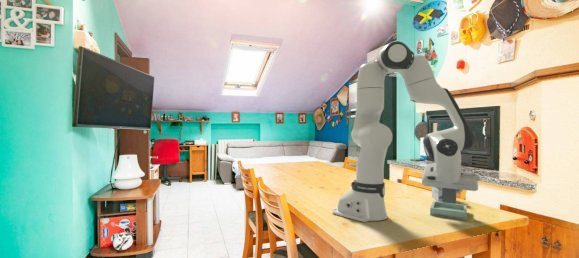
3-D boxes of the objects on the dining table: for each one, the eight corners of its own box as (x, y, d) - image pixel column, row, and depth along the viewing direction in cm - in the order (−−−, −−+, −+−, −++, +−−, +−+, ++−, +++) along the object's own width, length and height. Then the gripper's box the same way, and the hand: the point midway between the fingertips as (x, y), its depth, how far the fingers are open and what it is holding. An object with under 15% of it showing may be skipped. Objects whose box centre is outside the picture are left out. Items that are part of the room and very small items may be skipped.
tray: (430, 214, 116) (430, 207, 116) (432, 207, 127) (432, 200, 127) (466, 220, 109) (466, 213, 109) (466, 212, 120) (466, 205, 120)
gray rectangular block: (442, 202, 117) (442, 183, 117) (443, 199, 121) (442, 181, 121) (456, 203, 114) (456, 184, 114) (456, 201, 119) (456, 182, 119)
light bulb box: (452, 202, 134) (452, 180, 134) (437, 202, 136) (438, 180, 136) (444, 197, 145) (445, 176, 145) (431, 196, 146) (431, 176, 146)
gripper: (479, 167, 106) (478, 188, 114) (421, 164, 117) (424, 182, 125) (480, 181, 102) (478, 201, 111) (420, 176, 113) (422, 194, 121)
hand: (449, 191), depth 118 cm, fingers closed on gray rectangular block, 5 cm apart
